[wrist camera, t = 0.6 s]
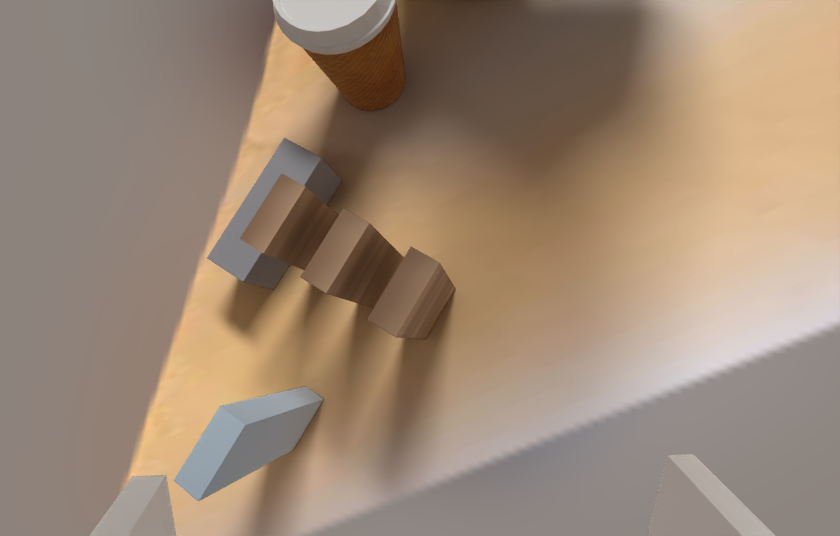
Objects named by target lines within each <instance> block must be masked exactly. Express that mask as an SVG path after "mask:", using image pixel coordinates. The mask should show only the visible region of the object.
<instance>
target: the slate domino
mask: <svg viewBox="0 0 840 536" xmlns="http://www.w3.org/2000/svg"><path fill="white" fill-rule="evenodd" d="M322 401H323V398H321V397H320V396H319V395H317V394H316V393H314V392H313V391H312V390H310V389H309V388H307V387H306V386H305V387H300V388H296V389H292V390H287V391H283V392H279V393H274V394H270V395H266V396H262V397H257V398H253V399H249V400H244V401H240V402H236V403H231V404H227V405H223V406H220V407H219V409H218V410H217V412H216V413H215V415H214V417H213V418H212V420H211V421H210V423H209V425H208V426H207V428H206V430H205V431H204V433H203V434H202V436H201V438H200V439H199V441H198V442H197V444H196V446H195V447H194V449H193V450H192V452H191V454H190V455H189V457H188V458H187V460H186V462H185V463H184V465H183V466H182V468H181V470H180V471H179V473H178V475H177V476H176V478H175V479H174V481H175V482H176V483H177V484H178V485H180V486H181V487H182V488H183V489H184V490H185V491H187V492H188V493H189V494H190V495H191V496H192V497H194V498H195V499H196V500H197V501H200V500H202V499H204V498H205V497H207V496H209V495H211V494H213V493H215V492H217V491H218V490H220V489H222V488H224V487H226V486H228V485H229V484H231V483H233V482H235V481H237V480H239V479H241V478H242V477H244V476H246V475H248V474H250V473H252V472H253V471H255V470H257V469H259V468H261V467H263V466H265V465H266V464H268V463H270V462H272V461H274V460H276V459H277V458H279V457H281V456H283V455H285V454H287V453H289V452H290V451H292V450H293V449H294V447H295V446H296V444H297V442H298V441H299V439H300V437H301V436H302V434H303V432H304V431H305V429H306V427H307V426H308V424H309V422H310V421H311V419H312V418H313V416H314V414H315V413H316V411H317V409H318V408H319V406H320V404H321V403H322Z"/></svg>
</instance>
